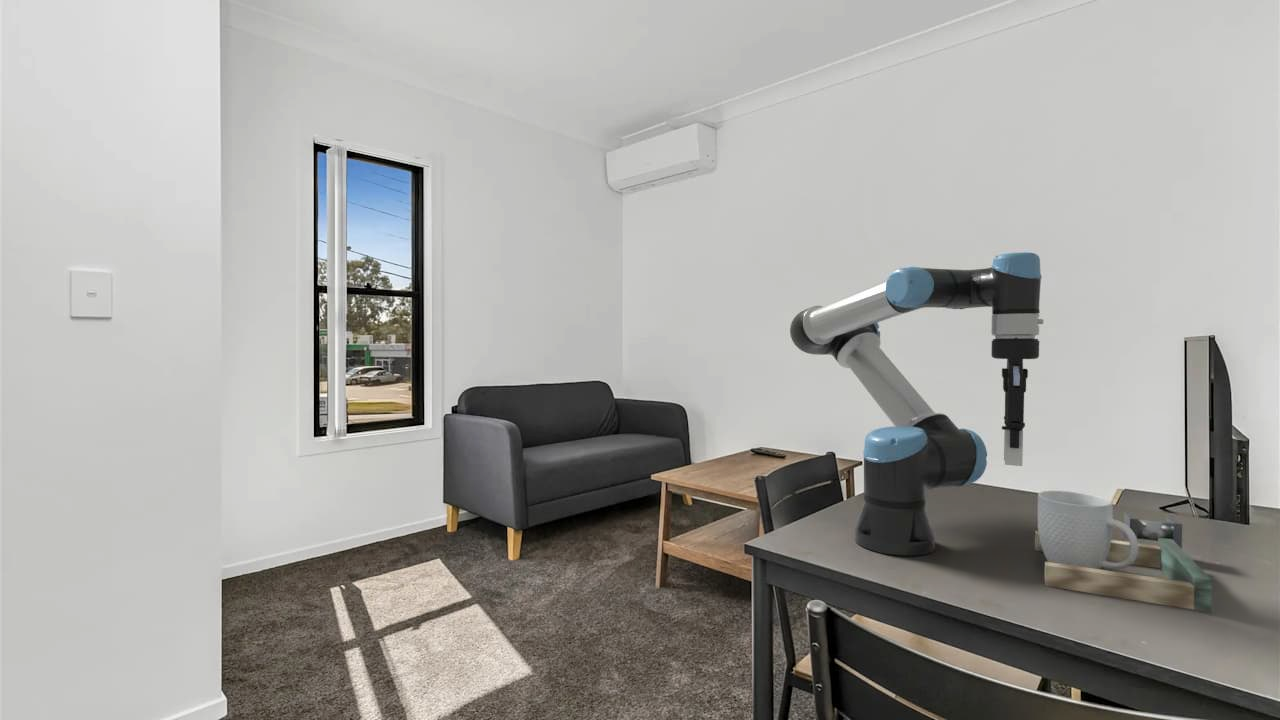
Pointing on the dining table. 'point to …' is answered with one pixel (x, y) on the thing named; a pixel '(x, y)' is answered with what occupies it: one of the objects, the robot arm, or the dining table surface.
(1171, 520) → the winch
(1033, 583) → the dining table surface
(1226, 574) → the dining table surface
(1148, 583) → the bay
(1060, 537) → the mug
